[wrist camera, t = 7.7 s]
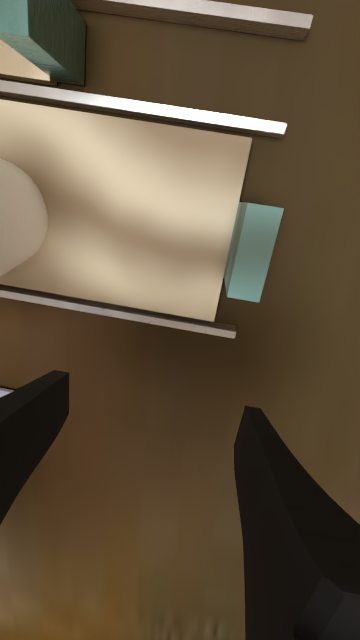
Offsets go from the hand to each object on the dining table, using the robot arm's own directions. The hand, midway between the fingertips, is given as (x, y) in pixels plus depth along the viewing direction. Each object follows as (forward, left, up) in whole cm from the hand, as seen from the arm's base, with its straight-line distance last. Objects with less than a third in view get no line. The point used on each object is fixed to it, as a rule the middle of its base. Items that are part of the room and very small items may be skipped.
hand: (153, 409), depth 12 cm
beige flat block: (+6, +7, -10) cm, 14 cm away
